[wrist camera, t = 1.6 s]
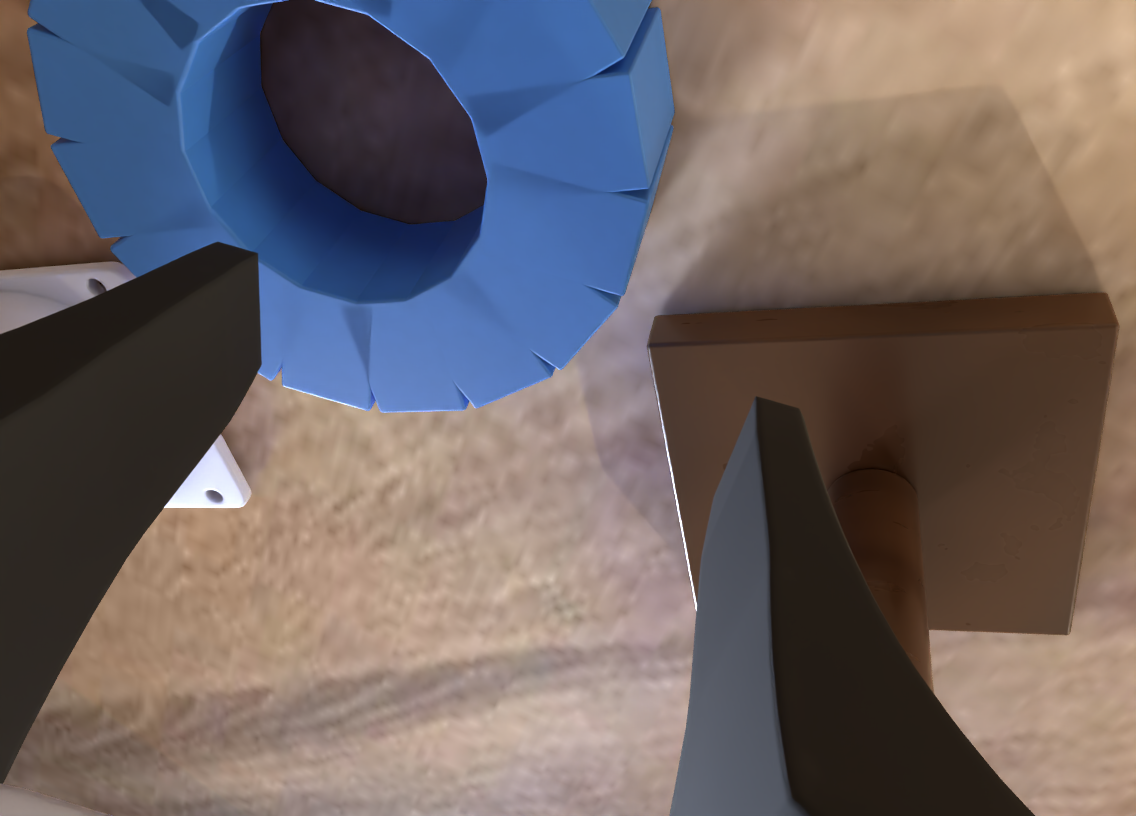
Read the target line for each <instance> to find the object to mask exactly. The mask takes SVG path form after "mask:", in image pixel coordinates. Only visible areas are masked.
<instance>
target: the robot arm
mask: <svg viewBox="0 0 1136 816" xmlns="http://www.w3.org/2000/svg"><path fill="white" fill-rule="evenodd" d="M97 280H98V281H100V282H101V283H102V284H103V285H104V286H105V287H104V286H102V285H100V284H99V282H98V281H97ZM261 365H262V356H261V325H260V295H259V264H258V253H256V252H253V251H249V250H246V249H242V248H239V247H235V246H232V245H228V244H225V243H221V242H218V241H217V242H215V243H212V244H210V245H207V246H205V247H202V248H200V249H198V250H195V251H193V252H191V253H189V254H186V255H184V256H182V257H180V258H178V259H176V260H173V261H171V262H169V263H167V264H165V265H163V266H161V267H158V268H156V269H154V270H152V271H150V272H148V273H146V274H143V275H141V276H139V277H137V278H136V277H135V276H134V275H133V274H132V273H131V271H130V270H129V269H128V268H127V267H126V266H125V265H124V264H121V263H119V262H113V261H109V262H97V263H85V264H73V265H61V266H49V267H37V268H24V269H12V270H0V816H112V815H109V814H105V813H102V812H99V811H96V810H93V809H90V808H86V807H83V806H80V805H77V804H74V803H71V802H67V801H64V800H61V799H58V798H55V797H52V796H48V795H45V794H42V793H39V792H36V791H33V790H29V789H26V788H22V787H17V786H11V785H6V784H3V782H4V780H5V778H6V776H7V774H8V772H9V770H10V768H11V766H12V764H13V762H14V760H15V758H16V756H17V754H18V752H19V750H20V748H21V746H22V744H23V742H24V740H25V738H26V736H27V734H28V732H29V730H30V728H31V726H32V724H33V722H34V720H35V719H36V717H37V715H38V713H39V711H40V709H41V707H42V705H43V703H44V702H45V700H46V698H47V696H48V694H49V692H50V690H51V688H52V686H53V685H54V683H55V681H56V679H57V677H58V675H59V673H60V671H61V669H62V668H63V666H64V664H65V662H66V661H67V659H68V657H69V655H70V654H71V652H72V650H73V648H74V647H75V645H76V643H77V641H78V640H79V638H80V636H81V634H82V633H83V631H84V629H85V627H86V626H87V624H88V622H89V620H90V619H91V617H92V615H93V613H94V612H95V610H96V608H97V607H98V605H99V603H100V602H101V600H102V598H103V597H104V595H105V593H106V592H107V590H108V588H109V587H110V585H111V583H112V582H113V580H114V579H115V577H116V575H117V574H118V572H119V570H120V569H121V567H122V565H123V564H124V562H125V560H126V559H127V557H128V556H129V554H130V553H131V552H132V550H133V549H134V547H135V546H136V544H137V543H138V542H139V540H140V539H141V537H142V536H143V534H144V533H145V532H146V530H147V529H148V528H149V526H150V525H151V524H152V523H153V521H154V520H155V519H156V517H157V516H158V515H159V514H160V512H161V511H162V510H163V508H164V507H207V508H238V507H243V506H244V505H245V504H246V503H247V501H248V500H249V498H250V496H251V490H250V487H249V485H248V483H247V481H246V480H245V478H244V476H243V474H242V472H241V470H240V468H239V466H238V465H237V463H236V461H235V459H234V457H233V455H232V453H231V451H230V450H229V448H228V446H227V444H226V442H225V440H224V438H223V436H222V435H221V433H222V431H223V430H224V429H225V427H226V426H227V425H228V423H229V422H230V421H231V419H232V417H233V416H234V414H235V412H236V410H237V409H238V407H239V405H240V404H241V402H242V400H243V398H244V397H245V395H246V393H247V391H248V389H249V387H250V386H251V384H252V382H253V380H254V378H255V376H256V374H257V373H258V371H259V369H260V367H261ZM669 816H1035V815H1034V814H1033V813H1032V812H1031V811H1030V810H1029V809H1028V808H1027V807H1026V806H1025V804H1024V803H1023V802H1022V801H1021V800H1020V799H1019V798H1018V797H1017V796H1016V795H1015V794H1014V793H1013V792H1012V791H1011V789H1010V788H1009V787H1008V786H1007V785H1006V784H1005V783H1004V782H1003V781H1002V780H1001V779H1000V777H999V776H998V775H997V774H996V773H995V772H994V770H993V769H992V768H991V767H990V765H989V764H988V763H987V762H986V761H985V759H984V758H983V757H982V756H981V755H980V753H979V752H978V751H977V750H976V748H975V747H974V746H973V745H972V744H971V742H970V741H969V740H968V739H967V738H966V736H965V735H964V734H963V733H962V731H961V730H960V729H959V727H958V726H957V725H956V723H955V722H954V721H953V719H952V718H951V717H950V716H949V714H948V713H947V712H946V710H945V709H944V707H943V706H942V704H941V703H940V702H939V700H938V699H937V697H936V696H935V695H934V693H933V692H932V690H931V689H930V688H929V686H928V685H927V683H926V682H925V680H924V679H923V678H922V676H921V675H920V673H919V672H918V671H917V669H916V668H915V666H914V665H913V663H912V662H911V660H910V659H909V657H908V655H907V654H906V652H905V651H904V649H903V647H902V646H901V644H900V643H899V641H898V639H897V638H896V636H895V634H894V632H893V631H892V629H891V627H890V625H889V624H888V622H887V620H886V619H885V617H884V615H883V613H882V611H881V610H880V608H879V606H878V604H877V602H876V600H875V598H874V596H873V594H872V592H871V591H870V589H869V587H868V585H867V583H866V581H865V578H864V576H863V574H862V572H861V570H860V568H859V566H858V564H857V562H856V560H855V557H854V555H853V553H852V551H851V549H850V546H849V544H848V542H847V539H846V537H845V535H844V532H843V530H842V527H841V525H840V522H839V520H838V517H837V515H836V512H835V510H834V507H833V505H832V502H831V500H830V497H829V494H828V492H827V489H826V486H825V483H824V481H823V478H822V475H821V472H820V469H819V466H818V463H817V460H816V457H815V454H814V451H813V447H812V444H811V441H810V437H809V434H808V430H807V427H806V423H805V420H804V416H803V415H802V413H801V411H800V409H799V408H796V407H793V406H789V405H786V404H782V403H779V402H775V401H772V400H768V399H765V398H761V397H758V396H756V397H755V399H754V401H753V404H752V406H751V409H750V411H749V413H748V416H747V418H746V421H745V423H744V425H743V428H742V430H741V433H740V435H739V437H738V440H737V442H736V445H735V447H734V449H733V452H732V454H731V457H730V459H729V461H728V464H727V466H726V469H725V471H724V473H723V476H722V478H721V481H720V483H719V485H718V488H717V490H716V493H715V495H714V498H713V503H712V508H711V512H710V517H709V522H708V526H707V531H706V536H705V541H704V546H703V551H702V556H701V564H700V575H699V587H698V599H697V612H696V624H695V637H694V650H693V663H692V675H691V688H690V699H689V707H688V715H687V723H686V730H685V735H684V741H683V746H682V752H681V757H680V762H679V768H678V773H677V779H676V784H675V790H674V795H673V800H672V805H671V810H670V815H669Z"/></svg>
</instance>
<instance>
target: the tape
mask: <svg viewBox="0 0 1136 816" xmlns="http://www.w3.org/2000/svg"><path fill="white" fill-rule="evenodd" d="M281 1H287V0H30V4H29V8H28V15H29V17H30V18H32V19H33V20H35V21H36V22H38V23H37V24H35V25H34V26H32V27H30V28H28V30H27V36H28V41H29V47H30V52H31V57H32V63H33V68H34V74H35V79H36V84H37V90H38V95H39V101H40V106H41V111H42V117H43V122H44V128H45V131H46V133H48V134H51V135H54V136H58V137H61V138H60V139H59V140H57V141H56V142H55V143H53V144H52V145H51V149H52V151H53V153H54V155H55V156H56V158H57V160H58V162H59V164H60V166H61V167H62V169H63V171H64V173H65V175H66V177H67V178H68V180H69V182H70V184H71V186H72V188H73V189H74V191H75V193H76V195H77V197H78V199H79V200H80V202H81V204H82V206H83V208H84V210H85V211H86V213H87V215H88V217H89V219H90V221H91V222H92V224H93V226H94V228H95V230H96V232H97V233H98V235H99V237H100V238H112V237H120V238H119V239H118V240H117V241H116V242H115V243H114V244H112V246H111V248H110V250H111V252H112V253H113V254H114V255H115V256H116V257H117V258H118V259H119V260H120V261H121V262H122V263H123V264H124V265H125V266H126V267H127V268H128V269H129V270H130V271H131V273H132V274H133V275H134V276H135V277H136V278H137V277H139V276H141V275H143V274H146V273H148V272H150V271H152V270H154V269H156V268H158V267H161V266H163V265H165V264H167V263H169V262H171V261H173V260H176V259H178V258H180V257H182V256H184V255H186V254H189V253H191V252H193V251H195V250H198V249H200V248H202V247H205V246H207V245H210V244H212V243H215V242H217V241H218V242H221V243H225V244H228V245H232V246H235V247H239V248H242V249H246V250H249V251H253V252H256V253H258V264H259V295H260V325H261V356H262V365H261V367H260V369H259V371H258V373H259V374H261V375H262V376H264V377H265V378H267V379H269V380H273V379H274V378H275V377H276V375H277V374H278V372H279V371H280V370H281V368H282V385H283V386H284V387H287V388H291V389H294V390H298V391H301V392H305V393H308V394H311V395H315V396H318V397H322V398H325V399H329V400H332V401H335V402H339V403H342V404H346V405H349V406H353V407H356V408H360V409H363V410H366V411H369V410H370V409H371V408H372V406H373V404H374V402H375V401H376V403H377V405H378V408H379V410H380V411H381V412H423V411H462V410H465V409H466V408H467V406H468V403H469V401H470V402H471V404H472V405H473V406H474V407H475V408H479V407H481V406H484V405H486V404H488V403H491V402H493V401H495V400H498V399H500V398H502V397H505V396H507V395H510V394H512V393H514V392H517V391H519V390H521V389H524V388H526V387H529V386H531V385H533V384H536V383H538V382H540V381H543V380H545V379H547V378H550V377H551V376H552V375H553V372H554V370H555V367H556V368H557V369H559V370H561V369H563V368H564V367H565V366H566V364H567V363H568V362H569V361H570V360H571V359H572V358H573V357H574V356H575V354H576V353H577V352H578V351H579V350H580V349H581V348H582V347H583V345H584V344H585V343H586V342H587V341H588V340H589V339H590V338H591V337H592V335H593V334H594V333H595V332H596V331H597V330H598V329H599V328H600V326H601V325H602V324H603V323H604V322H605V321H606V320H607V319H608V317H609V316H610V315H611V314H612V313H613V312H614V311H615V310H616V309H617V307H618V304H619V301H620V298H621V296H623V295H624V294H625V292H626V289H627V285H628V282H629V279H630V276H631V273H632V270H633V267H634V263H635V260H636V257H637V254H638V251H639V248H640V244H641V241H642V238H643V235H644V232H645V229H646V225H647V222H648V219H649V216H650V213H651V209H652V205H653V202H654V198H655V195H656V191H657V187H658V184H659V180H660V176H661V173H662V169H663V165H664V162H665V158H666V154H667V151H668V147H669V144H670V140H671V136H672V133H673V129H674V128H673V126H672V125H671V122H672V119H673V116H674V113H675V110H674V103H673V96H672V88H671V81H670V74H669V67H668V60H667V53H666V46H665V39H664V32H663V25H662V18H661V10H660V8H658V7H656V8H649V9H648V7H649V5H650V3H651V1H652V0H315V1H319V2H322V3H326V4H330V5H333V6H337V7H341V8H344V9H348V10H352V11H355V12H359V13H363V14H366V15H369V16H370V17H371V18H373V19H374V20H376V21H377V22H378V23H380V24H381V25H383V26H384V27H385V28H387V29H388V30H389V31H391V32H392V33H394V34H395V35H396V36H398V37H399V38H401V39H402V40H403V41H405V42H406V43H407V44H409V45H410V46H412V47H413V48H414V49H416V50H417V51H419V52H420V53H421V54H423V55H424V56H426V57H427V58H428V59H429V60H430V61H431V62H432V64H433V65H434V67H435V68H436V69H437V71H438V72H439V74H440V75H441V77H442V78H443V79H444V81H445V82H446V84H447V85H448V86H449V88H450V89H451V91H452V92H453V94H454V95H455V96H456V98H457V99H458V101H459V102H460V103H461V105H462V106H463V108H464V109H465V111H466V112H467V113H468V115H469V116H470V118H471V120H472V124H473V128H474V131H475V135H476V139H477V142H478V146H479V150H480V154H481V157H482V161H483V165H484V168H485V172H486V176H487V179H488V180H487V187H486V194H485V201H484V205H482V206H481V207H479V208H477V209H475V210H473V211H472V212H470V213H468V214H466V215H464V216H463V217H461V218H459V219H457V220H455V221H445V222H433V223H422V224H407V223H403V222H400V221H396V220H393V219H389V218H386V217H382V216H378V215H375V214H371V213H368V212H364V211H361V210H359V209H358V208H356V207H355V206H353V205H352V204H350V203H349V202H347V201H346V200H344V199H343V198H341V197H340V196H338V195H337V194H335V193H334V192H332V191H331V190H330V189H328V188H327V187H325V186H324V185H322V184H321V183H319V182H318V181H316V180H315V179H314V178H313V176H312V175H311V174H310V173H309V172H308V170H307V169H306V168H305V167H304V165H303V164H302V163H301V162H300V160H299V159H298V158H297V157H296V156H295V154H294V153H293V152H292V151H291V149H290V148H289V147H288V146H287V144H286V143H285V142H284V141H283V139H282V137H281V134H280V132H279V129H278V127H277V124H276V122H275V119H274V117H273V114H272V112H271V109H270V106H269V104H268V101H267V99H266V96H265V94H264V91H263V89H262V86H261V52H260V32H261V30H262V28H263V25H264V23H265V20H266V18H267V16H268V13H269V11H270V9H271V6H272V4H273V3H275V2H281Z"/></svg>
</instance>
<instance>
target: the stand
mask: <svg viewBox="0 0 1136 816" xmlns="http://www.w3.org/2000/svg"><path fill="white" fill-rule="evenodd" d="M1119 327H1120V326H1119V323H1118V320H1117V318H1116V315H1115V312H1114V310H1113V307H1112V304H1111V302H1110V299H1109V296H1108V294H1107V293H1104V292H1099V293H1080V294H1061V295H1042V296H1023V297H1004V298H985V299H966V300H947V301H928V302H909V303H890V304H870V305H851V306H832V307H813V308H794V309H775V310H756V311H737V312H718V313H699V314H680V315H661V316H656V317H655V318H654V321H653V325H652V329H651V333H650V336H649V340H648V344H647V350H648V355H649V361H650V366H651V371H652V377H653V382H654V388H655V393H656V398H657V404H658V409H659V414H660V420H661V425H662V431H663V436H664V441H665V447H666V452H667V457H668V463H669V468H670V474H671V479H672V484H673V490H674V495H675V501H676V506H677V511H678V517H679V522H680V527H681V533H682V538H683V544H684V549H685V554H686V560H687V565H688V570H689V576H690V581H691V587H692V592H693V597H694V603H695V608H696V612H697V599H698V587H699V575H700V564H701V556H702V551H703V546H704V541H705V536H706V531H707V526H708V522H709V517H710V512H711V508H712V503H713V498H714V495H715V493H716V490H717V488H718V485H719V483H720V481H721V478H722V476H723V473H724V471H725V469H726V466H727V464H728V461H729V459H730V457H731V454H732V452H733V449H734V447H735V445H736V442H737V440H738V437H739V435H740V433H741V430H742V428H743V425H744V423H745V421H746V418H747V416H748V413H749V411H750V409H751V406H752V404H753V401H754V399H755V397H756V396H758V397H761V398H765V399H768V400H772V401H775V402H779V403H782V404H786V405H789V406H793V407H796V408H799V409H800V411H801V413H802V415H803V416H804V420H805V423H806V427H807V430H808V434H809V437H810V441H811V444H812V447H813V451H814V454H815V457H816V460H817V463H818V466H819V469H820V472H821V475H822V478H823V481H824V483H825V486H826V489H827V492H828V494H829V497H830V500H831V502H832V505H833V507H834V510H835V512H836V515H837V517H838V520H839V522H840V525H841V527H842V530H843V532H844V535H845V537H846V539H847V542H848V544H849V546H850V549H851V551H852V553H853V555H854V557H855V560H856V562H857V564H858V566H859V568H860V570H861V572H862V574H863V576H864V578H865V581H866V583H867V585H868V587H869V589H870V591H871V592H872V594H873V596H874V598H875V600H876V602H877V604H878V606H879V608H880V610H881V611H882V613H883V615H884V617H885V619H886V620H887V622H888V624H889V625H890V627H891V629H892V631H893V632H894V634H895V636H896V638H897V639H898V641H899V643H900V644H901V646H902V647H903V649H904V651H905V652H906V654H907V655H908V657H909V659H910V660H911V662H912V663H913V665H914V666H915V668H916V669H917V671H918V672H919V673H920V675H921V676H922V678H923V679H924V680H925V682H926V683H927V685H928V686H929V688H930V689H931V690H932V692H933V693H934V691H933V678H932V666H931V653H930V641H929V630H946V631H972V632H997V633H1023V634H1048V635H1069V634H1070V632H1071V626H1072V620H1073V614H1074V608H1075V602H1076V595H1077V589H1078V583H1079V577H1080V570H1081V564H1082V558H1083V552H1084V545H1085V539H1086V533H1087V527H1088V520H1089V514H1090V508H1091V502H1092V495H1093V489H1094V483H1095V477H1096V470H1097V464H1098V458H1099V452H1100V445H1101V439H1102V433H1103V427H1104V421H1105V414H1106V408H1107V402H1108V396H1109V389H1110V383H1111V377H1112V371H1113V364H1114V358H1115V352H1116V346H1117V339H1118V333H1119Z"/></svg>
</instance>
